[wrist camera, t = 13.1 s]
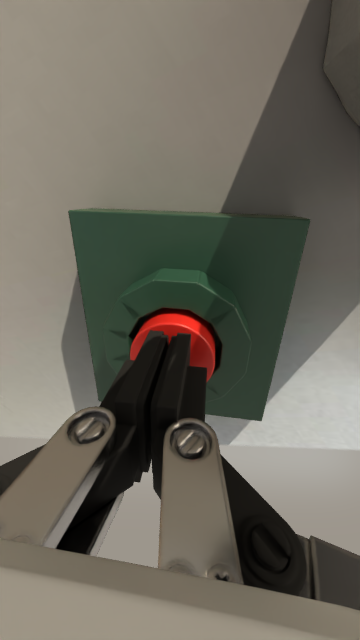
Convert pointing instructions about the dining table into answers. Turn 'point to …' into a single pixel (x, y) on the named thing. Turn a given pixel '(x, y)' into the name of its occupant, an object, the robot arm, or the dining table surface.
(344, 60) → the coffeepot
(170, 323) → the button
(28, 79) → the dining table surface
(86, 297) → the button box
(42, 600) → the robot arm
